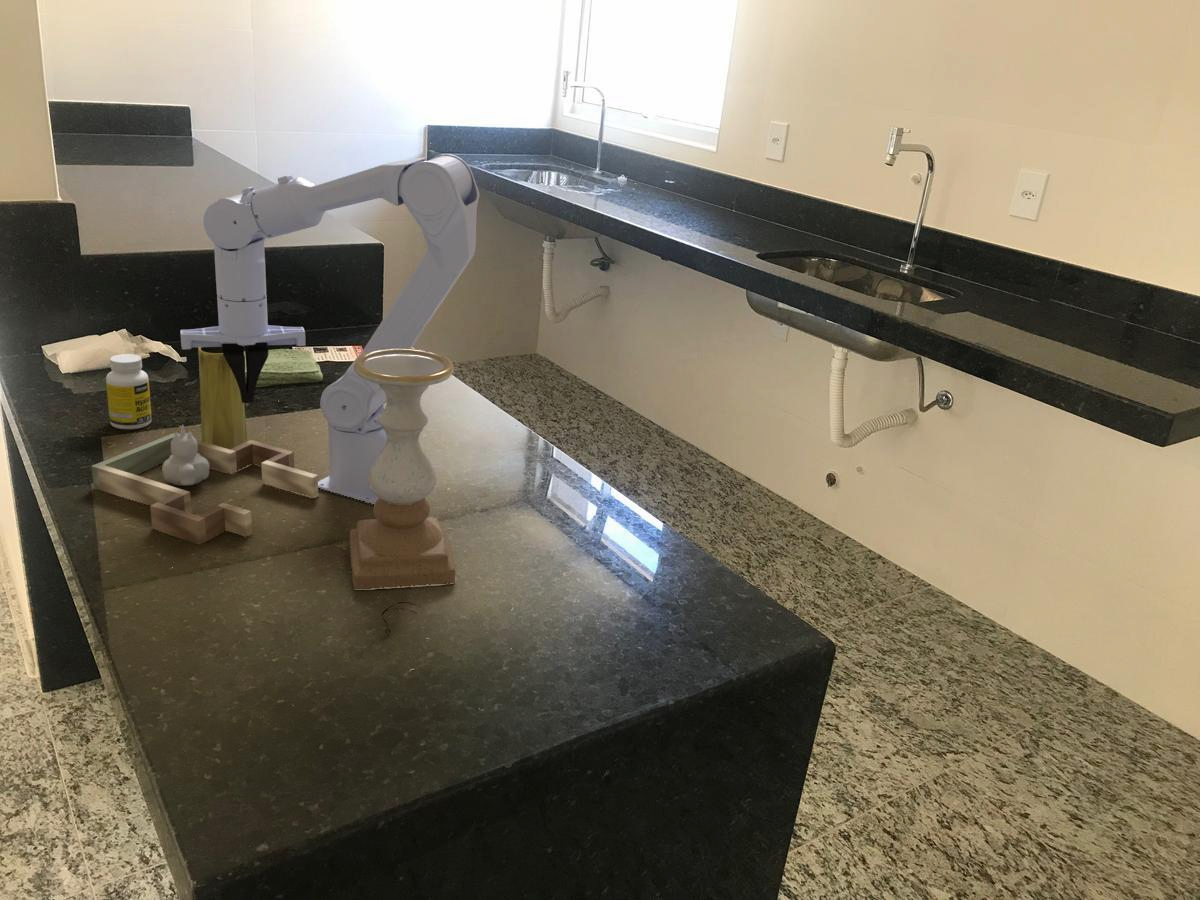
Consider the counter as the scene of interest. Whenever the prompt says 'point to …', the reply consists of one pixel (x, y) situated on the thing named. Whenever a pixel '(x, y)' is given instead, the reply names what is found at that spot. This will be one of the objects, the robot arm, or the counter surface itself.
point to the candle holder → (401, 479)
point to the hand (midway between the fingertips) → (247, 400)
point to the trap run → (175, 503)
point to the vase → (220, 401)
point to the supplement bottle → (128, 393)
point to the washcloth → (288, 368)
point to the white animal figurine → (185, 461)
